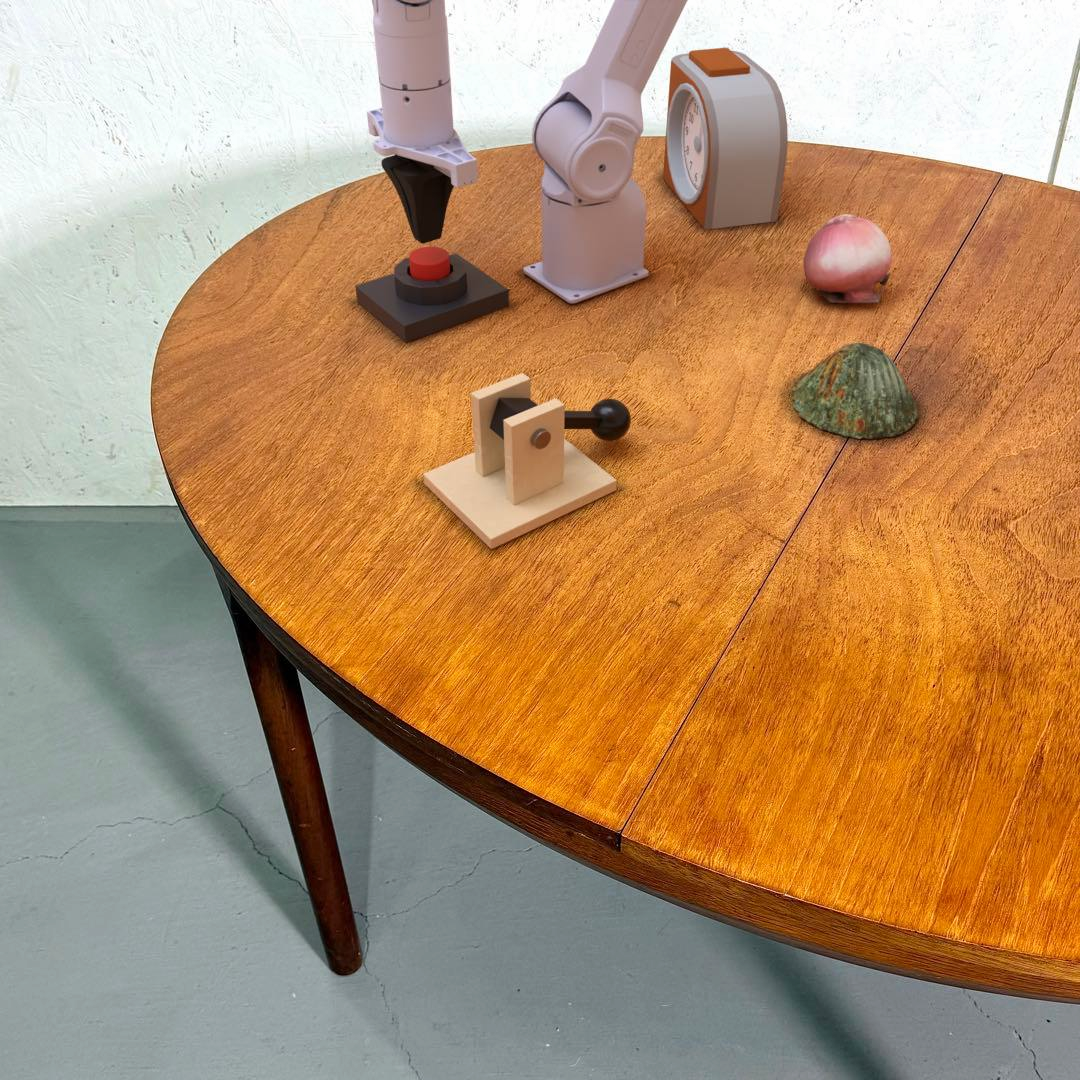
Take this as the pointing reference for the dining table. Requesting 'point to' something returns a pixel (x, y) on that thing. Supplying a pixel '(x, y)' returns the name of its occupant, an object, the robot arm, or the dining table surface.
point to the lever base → (517, 469)
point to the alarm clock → (725, 138)
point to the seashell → (856, 394)
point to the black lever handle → (572, 417)
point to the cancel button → (429, 263)
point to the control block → (431, 298)
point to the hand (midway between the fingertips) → (427, 238)
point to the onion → (848, 260)
